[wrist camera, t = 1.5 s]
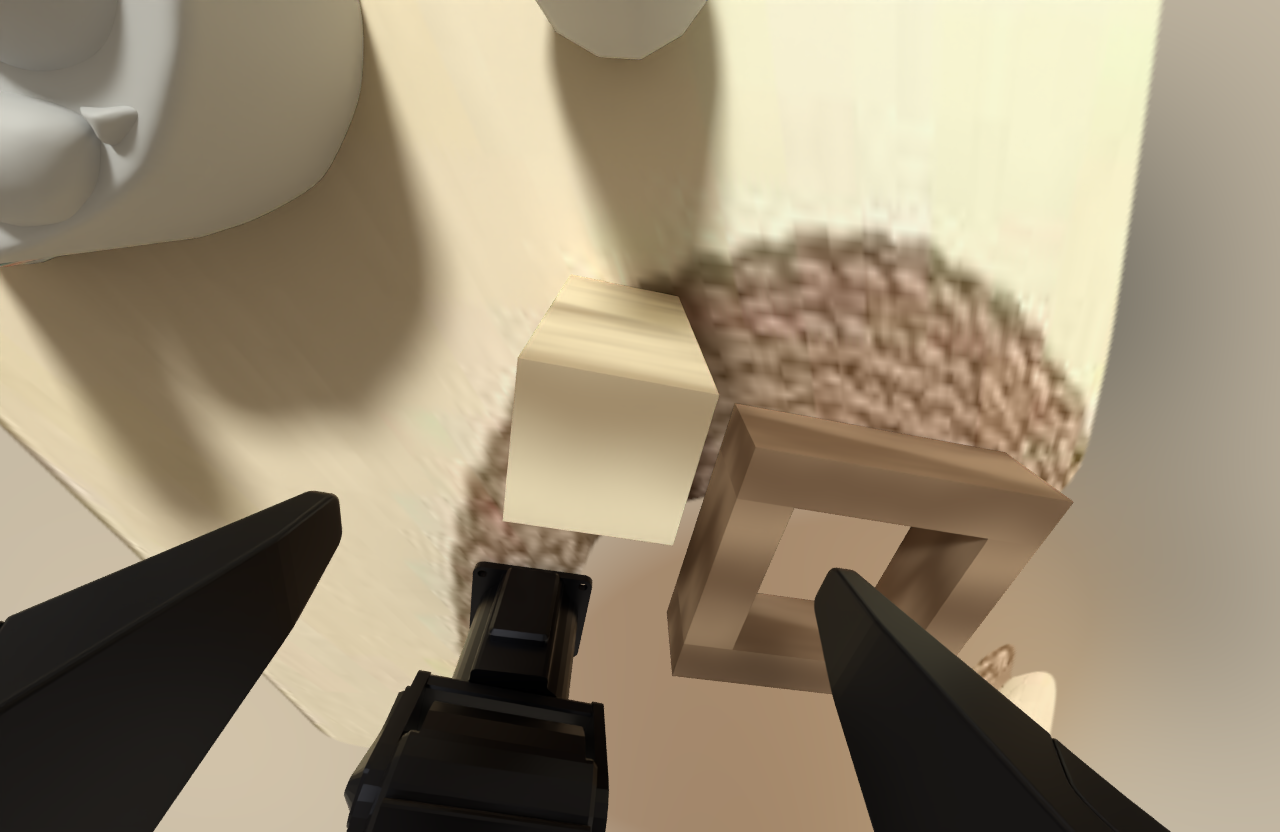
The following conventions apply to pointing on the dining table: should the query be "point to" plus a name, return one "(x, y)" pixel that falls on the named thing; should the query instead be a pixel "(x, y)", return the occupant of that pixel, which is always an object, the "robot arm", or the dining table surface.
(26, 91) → the lumpy-topped squat cylinder
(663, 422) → the birch peg
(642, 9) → the salt shaker
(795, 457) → the socket block
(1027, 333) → the dining table surface
